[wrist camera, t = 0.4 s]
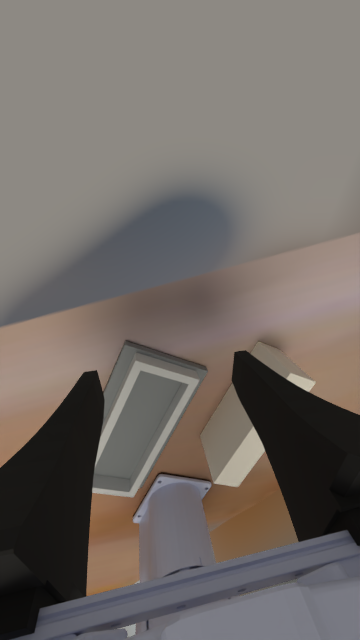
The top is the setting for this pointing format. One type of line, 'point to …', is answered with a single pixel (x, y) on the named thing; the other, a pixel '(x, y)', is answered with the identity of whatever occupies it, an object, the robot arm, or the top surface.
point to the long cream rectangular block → (243, 423)
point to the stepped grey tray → (141, 415)
